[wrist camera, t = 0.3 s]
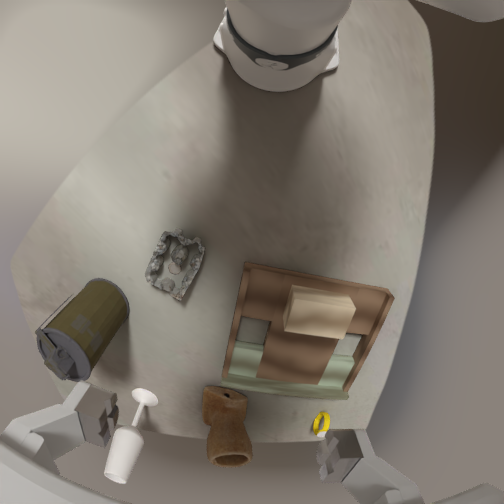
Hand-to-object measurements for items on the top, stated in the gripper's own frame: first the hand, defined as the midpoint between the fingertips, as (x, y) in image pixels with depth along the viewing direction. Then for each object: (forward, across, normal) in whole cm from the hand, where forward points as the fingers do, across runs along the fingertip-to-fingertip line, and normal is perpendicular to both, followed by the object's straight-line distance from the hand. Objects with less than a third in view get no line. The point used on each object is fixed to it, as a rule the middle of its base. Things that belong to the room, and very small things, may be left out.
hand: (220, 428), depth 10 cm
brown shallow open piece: (+40, -14, +17) cm, 46 cm away
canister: (+40, +24, +19) cm, 51 cm away
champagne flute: (+43, +16, +45) cm, 64 cm away
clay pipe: (+43, -4, +41) cm, 59 cm away
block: (+37, -14, +10) cm, 41 cm away
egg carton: (+39, +10, +7) cm, 41 cm away
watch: (+43, -26, +41) cm, 65 cm away
